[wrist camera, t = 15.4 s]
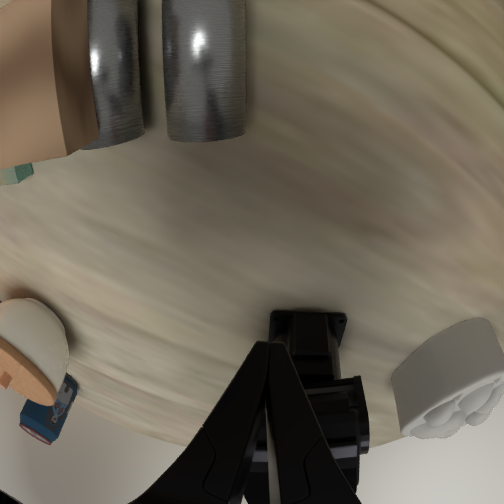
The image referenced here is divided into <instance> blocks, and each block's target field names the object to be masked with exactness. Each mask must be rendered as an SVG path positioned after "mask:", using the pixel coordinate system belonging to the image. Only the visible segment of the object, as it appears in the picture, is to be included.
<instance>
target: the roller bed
mask: <svg viewBox="0 0 504 504" xmlns="http://www.w3.org/2000/svg"><path fill="white" fill-rule="evenodd" d="M137 3H138V0H87V16H88V41H89V56H90V68H91V78H92V88H93V96H94V104H95V111H96V118H97V125H98V131H99V137H100V138H98V139H96V140H94V141H93V142H91V143H89V144H87V145H85V146H84V147H82V148H80V149H82V150H90V149H98V148H103V147H108V146H113V145H117V144H121V143H124V142H127V141H130V140H133V139H136V138H138V137H140V136H142V135H143V134H144V133H145V131H144V122H143V111H142V100H141V87H140V72H139V53H138V12H137ZM0 9H1V8H0ZM162 45H163V70H164V89H165V104H166V117H167V130H168V138H169V139H171V140H174V141H181V142H206V141H217V140H224V139H230V138H234V137H238V136H241V135H243V134H244V133H245V132H246V43H245V0H162ZM31 174H33V170H32V166H31V163H28V164H23V165H19V166H14V167H10V168H6V169H1V170H0V186H2V185H9V184H16V183H19V182H21V181H22V180H24V179H25V178H27V177H28V176H30V175H31Z"/></svg>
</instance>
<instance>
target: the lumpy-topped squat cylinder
mask: <svg viewBox="0 0 504 504" xmlns="http://www.w3.org/2000/svg"><path fill="white" fill-rule="evenodd" d="M391 380H392V385H393V390H394V396H395V401H396V407H397V413H398V419H399V425H400V431H401V434H402V435H404V436H415V437H417V438H420V439H429V438H448V437H450V436H452V435H454V434H455V433H456V432H457V431H458V430H459V429H460V428H461V427H462V426H464V425H466V424H469V425H471V426H477V425H479V424H481V423H483V422H484V421H485V420H486V419H487V418H488V417H489V415H490V413H491V412H492V409H493V408H494V407H495V406H496V405H497V404H498V402H499V401H500V399H501V396H502V395H503V394H504V353H503V351H502V349H501V346H500V344H499V342H498V340H497V338H496V336H495V334H494V331H493V329H492V327H491V325H490V323H489V321H488V320H487V319H485V318H473V319H469V320H466V321H463V322H460V323H457V324H455V325H453V326H451V327H449V328H447V329H445V330H443V331H442V332H440V333H438V334H436V335H434V336H433V337H431V338H430V339H428V340H427V341H426V342H424V343H423V344H422V345H421V346H420V347H419V348H418V349H416V350H415V351H414V352H413V353H412V354H411V355H410V356H409V357H408V358H407V359H406V360H405V361H404V362H403V363H402V364H401V365H400V366H399V367H398V368H397V369H396V370H395V372H394V373H393V375H392V379H391Z"/></svg>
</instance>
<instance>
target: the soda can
mask: <svg viewBox="0 0 504 504" xmlns="http://www.w3.org/2000/svg"><path fill="white" fill-rule="evenodd" d="M76 395H77V386H76V382H75V381H74V380H73V379H72V378H71V377H70V376H69V375H68V374H66V375H65V378H64V381H63V383H62V385H61V388H60V390H59V392H58V394H57V399H56V401H55V403H54V404H53V405H51V406H45V405H41V404H38V403H36V402H34V401H31V400H29V399H27V401H26V403H25V405H24V407H23V409H22V411H21V413H20V424H19V426H20V427H21V428H22V429H23V430H25V431H26V432H27V433H29V434H30V435H32V436H33V437H35V438H36V439H38V440H40V441H42V442H43V443H46V444H48V445H51V443H52V442H53V441H55V440H56V439H57V438H58V437H59V434H60V431H61V429H62V427H63V424H64V422H65V420H66V417H67V415H68V413H69V410H70V408H71V406H72V404H73V402H74V399H75V397H76Z"/></svg>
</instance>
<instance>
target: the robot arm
mask: <svg viewBox="0 0 504 504" xmlns="http://www.w3.org/2000/svg"><path fill="white" fill-rule="evenodd" d="M340 319H342V320H340ZM346 323H347V316H346V315H345V314H331V313H305V312H284V311H274V312H272V313H271V315H270V329H269V341H256V343H255V344H254V346H253V347H252V349H251V351H250V352H249V354H248V355H247V357H246V359H245V360H244V362H243V363H242V365H241V367H240V368H239V370H238V371H237V373H236V374H235V376H234V378H233V379H232V381H231V382H230V384H229V385H228V387H227V389H226V390H225V392H224V393H223V395H222V396H221V398H220V399H219V401H218V402H217V404H216V406H215V407H214V409H213V410H212V412H211V413H210V415H209V416H208V418H207V419H206V421H205V422H204V424H203V425H202V426H203V427H201V428H200V429H199V431H198V432H197V434H196V435H195V437H194V438H193V439H192V441H191V442H190V444H189V445H188V446H187V448H186V449H185V450H184V451H183V452H182V454H181V455H180V456H179V457H178V458H177V459H176V461H175V462H174V463H173V464H172V465H171V466H170V467H169V468H168V469H167V470H166V471H165V472H164V473H163V474H162V475H161V476H160V477H159V478H158V479H157V480H156V481H155V483H153V484H152V485H151V486H150V487H149V488H148V489H147V490H146V491H145V492H144V493H143V494H142V495H140V496H139V497H138V498H137V499H135V500H133V501H132V502H130V503H128V504H241V502H242V498H243V495H244V497H245V499H246V501H247V503H248V504H362V503H361V502H360V500H359V499H358V497H357V495H356V494H355V493H356V490H357V485H358V483H359V459H360V458H359V457H360V456H359V455H361V454H367V453H368V450H369V437H370V434H369V418H368V411H367V406H366V401H365V396H364V390H363V386H362V381H361V376H353V378H345V379H341V372H340V362H339V352H338V349H339V346H340V342H341V339H342V336H343V333H344V330H345V327H346ZM0 504H23V503H21V502H20V501H18V500H16V499H15V498H14V497H12V496H10V495H8V494H7V493H5V492H4V491H2V490H0Z"/></svg>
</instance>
